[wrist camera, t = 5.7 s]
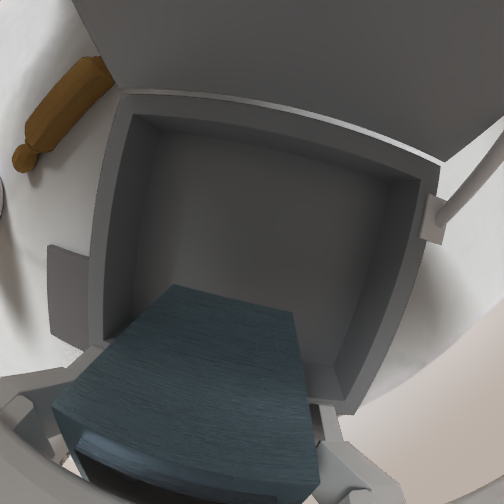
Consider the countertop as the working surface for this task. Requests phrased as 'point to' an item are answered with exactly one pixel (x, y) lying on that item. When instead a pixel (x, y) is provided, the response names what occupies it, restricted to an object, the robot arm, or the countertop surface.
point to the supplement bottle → (1, 197)
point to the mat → (68, 296)
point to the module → (195, 407)
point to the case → (267, 226)
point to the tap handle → (62, 109)
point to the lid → (321, 58)
